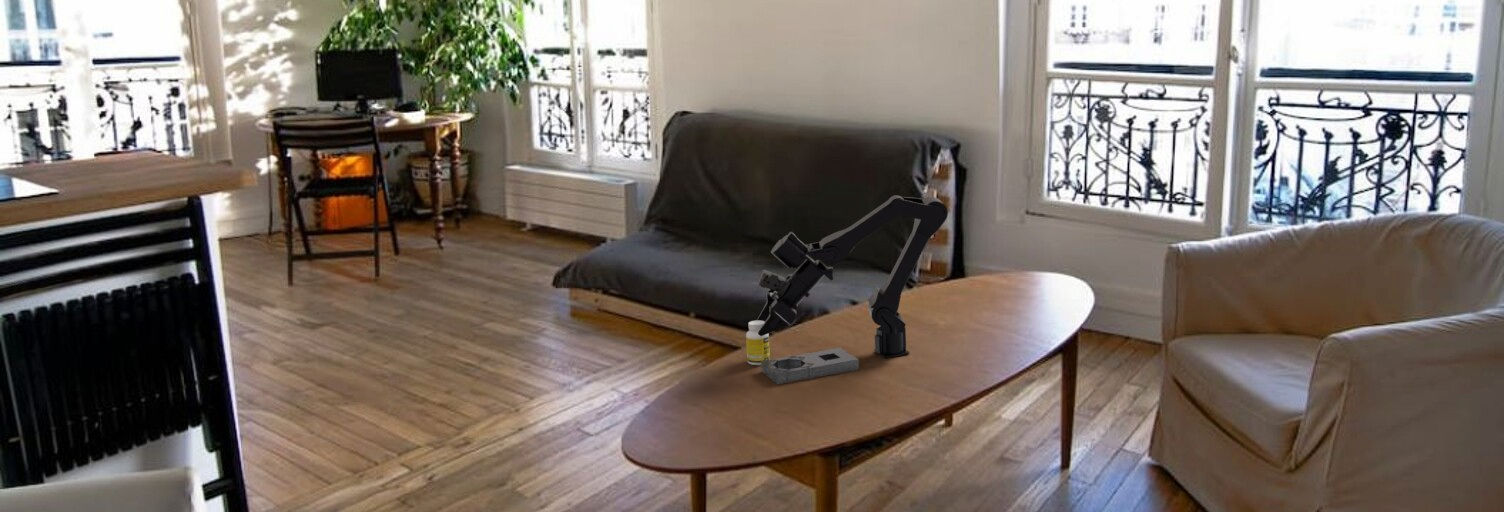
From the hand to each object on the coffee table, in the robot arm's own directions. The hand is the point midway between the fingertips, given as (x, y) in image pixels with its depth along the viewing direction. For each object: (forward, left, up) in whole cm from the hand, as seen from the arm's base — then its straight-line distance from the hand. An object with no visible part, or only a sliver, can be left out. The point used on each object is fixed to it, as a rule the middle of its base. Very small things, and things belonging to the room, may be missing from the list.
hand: (758, 329), depth 278 cm
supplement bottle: (0, 0, -8) cm, 8 cm away
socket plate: (-8, +12, -8) cm, 16 cm away
